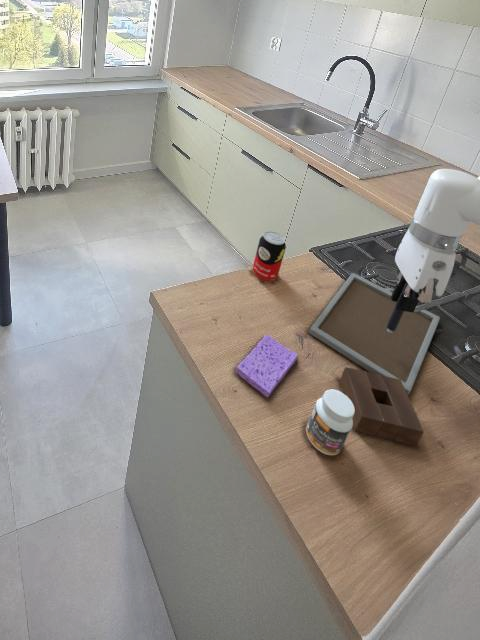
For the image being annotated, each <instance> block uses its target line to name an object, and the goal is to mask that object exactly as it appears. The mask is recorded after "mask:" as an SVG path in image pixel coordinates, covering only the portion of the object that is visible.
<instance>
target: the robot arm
mask: <svg viewBox="0 0 480 640" xmlns="http://www.w3.org/2000/svg"><path fill="white" fill-rule="evenodd" d="M470 222H471V223H474V224H477V225H479V226H480V175H479V176H478V177H476V176H474V175H473V174H470V173H468V172H465V171H462V170H458V169H453V168H438V169H436V170H434V171H433V172H432V173H431V174H430V177H429V178H428V181H427V183H426V186H425V188H424V190H423V192H422V195H421V197H420V200H419V201H418V205H417V207H416V209H415V212H414V214H413V217H412V219H411V221H410V224H409V226H408V229H407V231H406V233H405V234H404V236H403V238H402V240H401V241H400V244H399V246H398V248H397V250H396V252H395V257H394V262H395V265H396V266H397V268H398V269H397V270H398V274H397V277H396V281H395V282H396V284H395V286H394V288H393V289H394V291H393V292H392V295H391V300H392V301H395V302H397V303H396V306H395V307H396V309H397V310H402V311H407V312H414V310H415V308H416V306H418V304H419V302H420V303H422V304H426V305H431V304H432V299H433V294H434V295H435V297H442V296H443V294H444V293H445V291H446V288H447V286H448V283H449V281H450V278H451V276H452V273H453V270H454V266H455V261H456V254H457V252H456V250H457V249H458V246H459V244H460V242H461V240H462V238H463V237H464V234H465V232H466V230H467V228H468V226H469V224H470ZM406 282H407V283H408V285H407V287H406V289H405V291H404V293H401V292H402V290H403V288H404V285H405V283H406ZM413 290H414V291H413Z"/></svg>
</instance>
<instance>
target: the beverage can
mask: <svg viewBox="0 0 480 640" xmlns="http://www.w3.org/2000/svg"><path fill="white" fill-rule="evenodd" d="M285 241H286V239H285V237H284V236H283V235H282V234H280V233H278V232H277V231H265V232H264V233H263V235H262V236H260V238H259V241H258V245H257V248H256V253H255V256H254V260H253V264H252V271H253V273H254V274H255V275H256V276H257V277H258V278H259V279H261V280H263V281H274V280H276V279H277V278H278V277H279V273H280V270H281V266H282V263H283V260H284V256H285V252H286V249H287V246H286V242H285ZM254 267H255V268H254Z"/></svg>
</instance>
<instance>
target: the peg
mask: <svg viewBox="0 0 480 640" xmlns="http://www.w3.org/2000/svg"><path fill="white" fill-rule="evenodd" d="M407 285H408V283H407V282H406V283H405V285H404V288H403V290H402V292H401V293H404V291H405V289H406V287H407ZM413 291H414V290H413ZM403 313H404V311H402V310H397V309H396V307H395V308H394V310H393V312H392V315H391V317H390V319H389V322H388V324H387V328H388V330H387V331H388V332H389V333H392V331H395V330H396V328H397V326H398V324H399V321H400V319H401V317H402V315H403Z"/></svg>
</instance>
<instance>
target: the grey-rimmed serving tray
mask: <svg viewBox="0 0 480 640" xmlns="http://www.w3.org/2000/svg"><path fill="white" fill-rule="evenodd" d="M393 291H394V288H388V287H387V288H384V287H381V286H380V285H378V284H376V283H374V282H372V281H370V280H368V279H367V278H364V277H363V276H360V275H359V274H357V273H354V272H351V273H350V275H349V276H348V277H347V279H346V280H345V282H344V283H343V284H342V285H341V287H340V288H339V289H338V291H337V292H336V293H335V294H334V296H333V298H332V299H330V302H329V303H328V304H327V305H326V307H325V308H324V309H323V311H321V313H320V314H319V316H318V318H316V320H315V321H314V322H313V324H312V325H311V327H310V328H309V330H308V334H310V335H311V336H312V337H314V338H316V339H317V340H319V341H320V342H322V343H324V344H325V345H327V346H328V347H330V348H332V349H333V350H335V351H336V352H338V353H339V354H341V355H343V356H344V357H345V358H347V359H349V360H350V361H352V362H353V363H355V364H356V365H358V366H359V367H361V368H362V369H364V370H366V372H370V373H374V374H378V375H383V376H387V377H391V378H396V379H400V380H401V382H402V384H403V386H404V389H405V391H406V393H407V395H408V396H409V395H410V394H411V392H412V389H413V386H414V385H415V381H416V380H417V377H418V374H419V372H420V369H421V367H422V365H423V362H424V360H425V357H426V354H427V352H428V350H429V347H430V345H431V343H432V339H433V337H434V335H435V332H436V330H437V327H438V325H439V322H440V319H441V317H440V316H438V315H436V314H434V313H432V312H430V311H428V310H427V309H425V310H421V311H420V313H419V312H407V311H404V313H403V315H402V317H401V319H400V321H399V324H398V326H397V328H396V330H395V331H392V333H389V332H388V331H387V330H388V328H387V324H388V322H389V319H390V317H391V315H392V312H393V310H394V308H395V306H396V303H397V302H395V301H392V300H391V295H392V293H393ZM417 307H420V306H419V305H417V306H416V308H417Z"/></svg>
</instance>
